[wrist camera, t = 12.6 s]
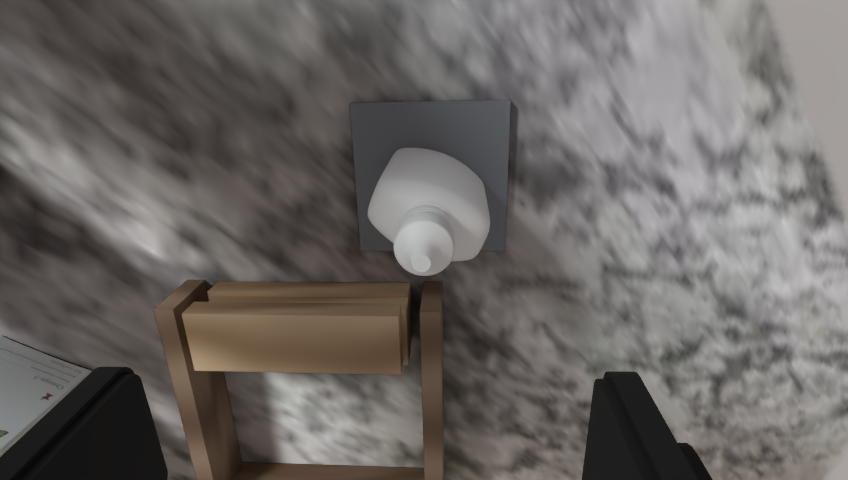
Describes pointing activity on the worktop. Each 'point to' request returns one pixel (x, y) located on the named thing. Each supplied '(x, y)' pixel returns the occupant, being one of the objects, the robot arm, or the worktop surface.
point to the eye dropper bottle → (430, 210)
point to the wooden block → (301, 327)
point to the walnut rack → (213, 420)
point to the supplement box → (30, 388)
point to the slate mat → (440, 131)
